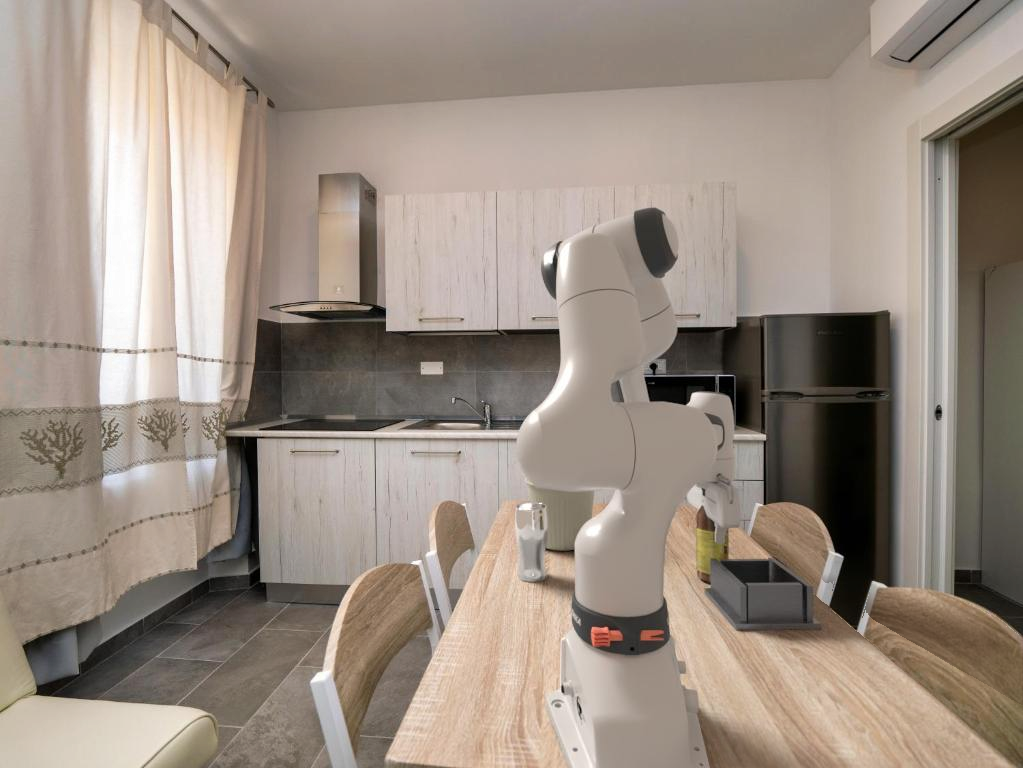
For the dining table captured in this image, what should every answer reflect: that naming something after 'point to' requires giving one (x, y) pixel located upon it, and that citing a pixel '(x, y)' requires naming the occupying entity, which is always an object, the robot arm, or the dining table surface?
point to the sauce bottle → (707, 544)
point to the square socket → (761, 595)
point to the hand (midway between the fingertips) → (711, 537)
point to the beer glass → (531, 540)
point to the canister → (563, 514)
